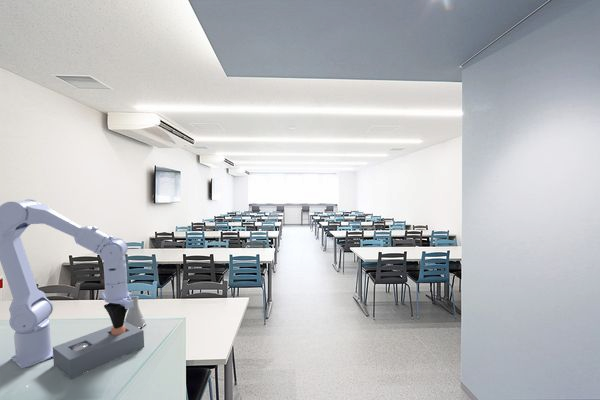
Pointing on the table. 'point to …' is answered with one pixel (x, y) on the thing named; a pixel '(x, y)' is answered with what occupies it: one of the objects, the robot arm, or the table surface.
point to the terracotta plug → (118, 330)
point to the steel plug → (80, 347)
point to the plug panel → (96, 350)
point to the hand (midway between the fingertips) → (118, 326)
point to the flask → (135, 314)
